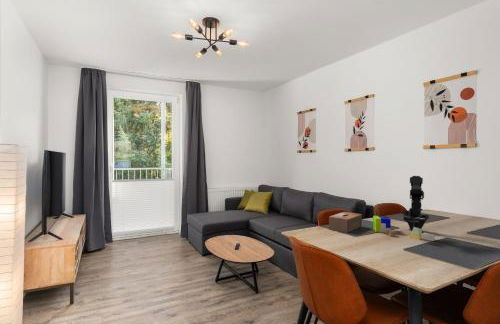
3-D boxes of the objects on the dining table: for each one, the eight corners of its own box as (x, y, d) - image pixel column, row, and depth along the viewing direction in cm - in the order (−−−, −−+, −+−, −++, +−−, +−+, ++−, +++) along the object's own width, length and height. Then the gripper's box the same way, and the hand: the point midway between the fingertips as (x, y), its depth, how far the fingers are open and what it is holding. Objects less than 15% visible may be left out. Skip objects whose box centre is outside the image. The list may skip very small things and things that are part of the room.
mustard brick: (410, 237, 195) (410, 232, 195) (412, 237, 197) (412, 232, 197) (419, 239, 190) (419, 234, 190) (421, 239, 192) (421, 233, 192)
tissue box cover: (344, 223, 236) (344, 211, 236) (361, 226, 226) (361, 214, 226) (328, 229, 217) (328, 216, 217) (346, 233, 207) (347, 219, 207)
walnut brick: (385, 234, 204) (385, 229, 204) (389, 234, 204) (389, 229, 204) (390, 236, 198) (390, 231, 198) (394, 236, 199) (394, 231, 198)
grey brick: (422, 238, 193) (422, 233, 193) (425, 237, 195) (425, 232, 195) (432, 240, 188) (432, 235, 188) (434, 240, 190) (434, 234, 190)
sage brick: (410, 232, 195) (410, 227, 195) (413, 231, 197) (413, 226, 197) (418, 234, 190) (418, 229, 190) (421, 234, 191) (421, 228, 191)
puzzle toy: (390, 232, 207) (390, 219, 207) (375, 232, 209) (375, 218, 209) (386, 229, 217) (387, 216, 217) (372, 228, 219) (372, 215, 219)
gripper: (413, 204, 204) (413, 225, 205) (396, 206, 196) (395, 228, 197) (429, 206, 194) (429, 229, 195) (411, 208, 186) (411, 232, 187)
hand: (415, 230), depth 193 cm, fingers open, 9 cm apart
